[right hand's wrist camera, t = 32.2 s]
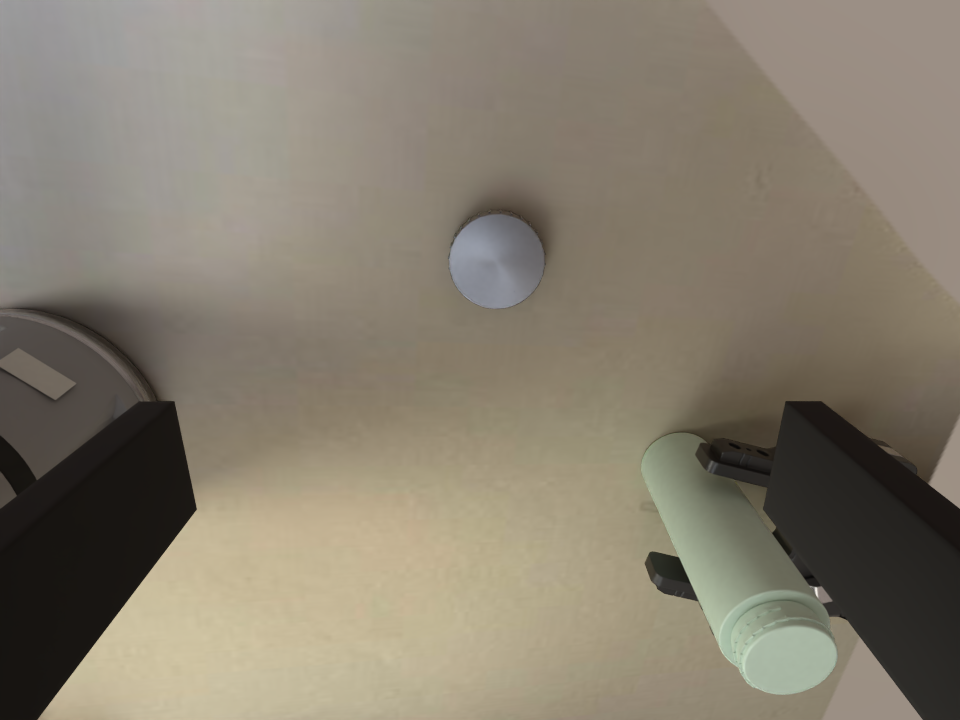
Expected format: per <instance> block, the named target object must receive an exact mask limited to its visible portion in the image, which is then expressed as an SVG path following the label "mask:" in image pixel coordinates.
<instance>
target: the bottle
mask: <svg viewBox="0 0 960 720" xmlns="http://www.w3.org/2000/svg"><path fill="white" fill-rule="evenodd" d="M700 443H707V442H706V441H705V440H703V439H702V438H700V437H699V436H696V435H694V434H690V433H681V432H680V433H672V434H668V435H665V436H663V437H661V438H659V439H658V440H656V441H655V442H654V443H652V444H651V445H650V447H649V448H648V449H647V450H646V452H645V454H644V456H643V459H642V463H641V472H642V476H643V478H644V481H645V483H646V485H647V487H648V490H649V492H650V494H651V496H652V498H653V501H654V503H655V505H656V507H657V509H658V512H659V514H660V516H661V518H662V521H663V523H664V525H665V527H666V529H667V532H668V534H669V536H670V538H671V540H672V543H673V545H674V547H675V549H676V552H677V554H678V556H679V558H680V560H681V563H682V565H683V567H684V569H685V571H686V574H687V576H688V578H689V580H690V583H691V585H692V587H693V589H694V591H695V594H696V596H697V598H698V600H699V602H700V605H701V607H702V609H703V611H704V614H705V616H706V618H707V620H708V622H709V625H710V627H711V629H712V631H713V633H714V636H715V638H716V640H717V642H718V645H719V647H720V649H721V651H722V653H723V654H724V656H725V657H726V658H727V659H728V660H729V661H730V662H731V663H732V664H734V665H735V666H737V667H739V671H740V673H741V675H742V676H743V678H744V679H745V681H746V682H747V683H748V684H749V685H751V686H752V687H753V688H758V689H760V690H762V691H764V692H767V693H771V694H778V695H787V694H795V693H799V692H803V691H806V690H808V689H811V688H813V687H815V686H816V685H818V684H819V683H821V682H822V681H823V680H825V679H826V678H827V677H828V676H829V675H830V673H831V672H832V670H833V669H834V667H835V665H836V662H837V657H838V653H837V647H836V644H835V641H834V636H833V634H832V633H831V631H830V619H829V615H828V613H827V610H826V609H825V607H824V606H823V604H822V603H821V601H820V600H819V599H818V597H817V596H816V594H815V593H814V592H813V590H812V589H811V587H810V586H809V585H808V583H807V582H806V580H805V579H804V578H803V576H802V575H801V573H800V572H799V571H798V569H797V568H796V566H795V565H794V564H793V562H792V561H791V559H790V558H789V557H788V555H787V554H786V552H785V551H784V550H783V548H782V547H781V545H780V544H779V543H778V541H777V540H776V538H775V537H774V536H773V534H772V533H771V531H770V530H769V529H768V527H767V526H766V524H765V523H764V522H763V520H762V519H761V517H760V516H759V514H758V513H757V512H756V510H755V509H754V507H753V506H752V505H751V503H750V502H749V500H748V499H747V498H746V496H745V495H744V493H743V492H742V491H741V489H740V488H739V486H738V485H737V484H736V482H735V481H734V479H730V478H726V477H722V476H718V475H714V474H712V473H709V472H708V471H706V470H705V469H704V468H703V467H702V465H701V464H700V462H699V460H698V459H697V457H696V456H695V453H696V451H697V449H698V447H699V444H700Z"/></svg>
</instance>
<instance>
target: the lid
mask: <svg viewBox="0 0 960 720" xmlns="http://www.w3.org/2000/svg"><path fill="white" fill-rule="evenodd" d="M454 238H455V239H454V241H453V243H451V245H450V248H451V250H450V253H449V256H448V259H449V269H450V273H451V277H452V280H453V282H454V283H455V285H456V287H457V289H458V290H459V291H460V292H461V293H462V295H463V296H464V297H466V298H467V299H468V300H469V301H471V302H473V303H474V304H477V305H479V306H482V307H485V308H490V309H503V308H508V307H512V306H514V305H517V304H519V303H521V302H522V301H524V300H525V299H527V298H528V297H529V296H530V295H531V294H532V293H533V292H534V291H535V289H536V288H537V286H538V285H539V283H540V281H541V278H542V276H543V272H544V266H545V252H544V249H543V247H542V244H543V242H542V240H541V239H539V237H538V232H537V230H534V229H533V227H532V226H531V223H530V222H527V221H526V220H524V219H523V218H522V216H521V215H520V216H518V215H516V214H514V213H512V211H510V212H507V211H501V209H499V210H494V211H491V210H490V209H489V211H487V212H483V213H480V212H479V213H478V215H476V216H474V217H472V218H469V219H468V221H467V222H466V223H465V224H464V225H461V227H460V230H459V231H458V233H455V235H454Z"/></svg>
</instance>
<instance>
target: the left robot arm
mask: <svg viewBox="0 0 960 720" xmlns="http://www.w3.org/2000/svg"><path fill="white" fill-rule="evenodd" d="M869 439H870V438H869ZM870 440H872V441H873V442H874V443H876V444H877V445H878V446H879V447H881V448H882V449H883V450H885V451H886V452H887V453H888V454H890V455H891V456H892V457H894V458H895V459H896V460H897V461H899V462H900V463H901V464H903V465H904V466H905V467H907V468H908V469H909V470H910V471H912V472H913V473H914V474H917V468H916V467H915V466H914V465H913V464H912V463H911V462H909V461H908V460H907V459H905V458H904V457H903V456H902V455H900V454H899V453H898V452H896V451H895V450H894V449H892V448H891V447H890V446H889V445H887V444H886V443H885V442H883V441H879V440H875V439H870ZM775 450H776V447H772V448H768V449H765V448H761V447H757V446H753V445H749V444H745V443H740V442H737V441H733V440H729V439H725V438H721V439H714V440H713V442H712V444H708V443H700V444H699V447H698V449H697V451H696V453H695V456H696V457H697V459H698V460H699V462H700V464H701V465H702V467H703V468H704V469H705V470H706V471H708V472H709V473H712V474H714V475H718V476H722V477H726V478H730V479H735V480H739V481H743V482H747V483H751V484H755V485H759V486H763V487H767V488H768V484H769V479H770V474H771V470H772V465H773V460H774V455H775ZM772 534H773V536H774V537H775V538H776V540H777V541H778V543H779V544H780V545H781V547H782V548H783V550H784V551H785V552H786V554H787V555H788V557H789V558H790V559H791V561H792V562H793V564H794V565H795V566H796V568H797V569H798V571H799V572H800V573H801V575H802V576H803V578H804V579H805V580H806V582H807V583H808V585H809V586H810V587H811V589H812V590H813V592H814V593H815V594H816V596H817V597H818V599H819V600H820V601H821V603H822V604H823V606H824V607H825V609H826V610H827V613H828V615H829V617H841V618H843V619H846V618H845V616H844V615H843V614H842V613H841V611H840V610H839V609H838V607H837V606H836V605H835V603H834V602H833V601H832V599H831V598H830V597H829V595H828V594H827V593H826V591H825V590H824V589H823V587H822V586H821V585H820V584H819V582H818V581H817V580H816V578H815V577H814V576H813V574H812V573H811V572H810V570H809V569H808V568H807V566H806V565H805V564H804V562H803V561H802V560H801V559H800V557H799V556H798V555H797V553H796V552H795V551H794V549H793V548H792V547H791V545H790V544H789V543H788V541H787V540H786V539H785V537H784V536H783V535H782V533H781V532H780V531H779V530H778V528H777V527H776V529H775V531H774V532H773V533H772ZM645 566H646V568H647V571H648V574H649V577H650V579H651V581H652V582H653V583H654V584H655V585H656V586H657V589H658V590H660V591H661V592H663V593H664V594H669V595H674V596H677V597H682V598H686V599H691V600H695V601H698V602H699V600H698V598H697V596H696V594H695V591H694V589H693V587H692V585H691V583H690V580H689V578H688V576H687V574H686V571H685V569H684V567H683V565H682V563H681V560H680V558H679V557H675V556H670V555H666V554H662V553H657V552H650V553H649V555H648V557H647V559H646V561H645ZM699 604H700V602H699ZM700 607H701V605H700ZM701 609H702V607H701ZM702 610H703V609H702ZM703 612H704V611H703ZM706 619H707V618H706ZM846 620H847V619H846ZM707 621H708V620H707ZM708 623H709V622H708ZM710 629H711V627H710ZM711 631H712V629H711ZM712 633H713V631H712ZM713 635H714V633H713Z"/></svg>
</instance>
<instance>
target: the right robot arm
mask: <svg viewBox="0 0 960 720" xmlns="http://www.w3.org/2000/svg"><path fill="white" fill-rule="evenodd" d="M196 510H197V508H196V503H195V498H194V494H193V489H192V484H191V479H190V474H189V470H188V465H187V460H186V455H185V450H184V445H183V441H182V436H181V431H180V426H179V421H178V417H177V412H176V407H175V402H174V401H157V399H156V397H155V395H154V394H153V392H152V390H151V388H150V386H149V385H148V383H147V382H146V380H145V378H144V377H143V376H142V374H141V373H140V372H139V370H138V369H137V368H136V367H135V366H134V365H133V363H132V362H131V361H130V360H129V359H128V358H127V357H126V356H125V355H124V354H123V353H122V352H121V351H120V350H118V349H117V348H116V347H115V346H113V345H112V344H111V343H110V342H108V341H107V340H106V339H104V338H103V337H101V336H100V335H98V334H97V333H95V332H93V331H92V330H90V329H88V328H86V327H84V326H82V325H80V324H78V323H76V322H74V321H71V320H69V319H66V318H64V317H61V316H57V315H54V314H51V313H47V312H42V311H37V310H29V309H0V720H37V719H38V718H39V717H40V715H41V714H42V713H43V711H44V710H45V709H46V707H47V706H48V705H49V703H50V702H51V701H52V699H53V698H54V697H55V695H56V694H57V693H58V692H59V690H60V689H61V688H62V686H63V685H64V684H65V682H66V681H67V680H68V678H69V677H70V676H71V674H72V673H73V672H74V670H75V669H76V668H77V666H78V665H79V664H80V663H81V661H82V660H83V659H84V657H85V656H86V655H87V653H88V652H89V651H90V649H91V648H92V647H93V645H94V644H95V643H96V641H97V640H98V639H99V638H100V636H101V635H102V634H103V632H104V631H105V630H106V628H107V627H108V626H109V624H110V623H111V622H112V620H113V619H114V618H115V616H116V615H117V614H118V612H119V611H120V610H121V609H122V607H123V606H124V605H125V603H126V602H127V601H128V599H129V598H130V597H131V595H132V594H133V593H134V591H135V590H136V589H137V587H138V586H139V585H140V584H141V582H142V581H143V580H144V578H145V577H146V576H147V574H148V573H149V572H150V570H151V569H152V568H153V566H154V565H155V564H156V562H157V561H158V560H159V559H160V557H161V556H162V555H163V553H164V552H165V551H166V549H167V548H168V547H169V545H170V544H171V543H172V541H173V540H174V539H175V537H176V536H177V535H178V533H179V532H180V531H181V530H182V528H183V527H184V526H185V524H186V523H187V522H188V520H189V519H190V518H191V516H192V515H193V514H194V512H195V511H196ZM763 510H764V511H765V512H766V514H767V515H768V516H769V518H770V519H771V520H772V522H773V523H774V524H775V526H776V527H777V528H778V530H779V531H780V532H781V533H782V535H783V536H784V537H785V539H786V540H787V541H788V543H789V544H790V545H791V547H792V548H793V549H794V551H795V552H796V553H797V555H798V556H799V557H800V559H801V560H802V561H803V562H804V564H805V565H806V566H807V568H808V569H809V570H810V572H811V573H812V574H813V576H814V577H815V578H816V580H817V581H818V582H819V584H820V585H821V586H822V587H823V589H824V590H825V591H826V593H827V594H828V595H829V597H830V598H831V599H832V601H833V602H834V603H835V605H836V606H837V607H838V609H839V610H840V611H841V613H842V614H843V615H844V616H845V618H846V619H847V620H848V622H849V623H850V624H851V626H852V627H853V628H854V630H855V631H856V632H857V634H858V635H859V636H860V638H861V639H862V640H863V641H864V643H865V644H866V645H867V647H868V648H869V649H870V651H871V652H872V653H873V655H874V656H875V657H876V659H877V660H878V661H879V663H880V664H881V665H882V666H883V668H884V669H885V670H886V672H887V673H888V674H889V676H890V677H891V678H892V680H893V681H894V682H895V684H896V685H897V686H898V688H899V689H900V690H901V691H902V693H903V694H904V695H905V697H906V698H907V699H908V701H909V702H910V703H911V705H912V706H913V707H914V709H915V710H916V711H917V713H918V714H919V715H920V717H921V718H922V719H923V720H960V509H959V508H958V507H957V506H955V505H954V504H953V503H952V502H950V501H949V500H948V499H946V498H945V497H944V496H943V495H941V494H940V493H939V492H937V491H936V490H935V489H934V488H932V487H931V486H930V485H928V484H927V483H926V482H925V481H923V480H922V479H921V478H919V477H918V476H917V475H916V474H914V473H913V472H912V471H910V470H909V469H908V468H907V467H905V466H904V465H903V464H901V463H900V462H899V461H897V460H896V459H895V458H894V457H892V456H891V455H890V454H888V453H887V452H886V451H885V450H883V449H882V448H881V447H879V446H878V445H877V444H876V443H874V442H873V441H872V440H870V439H869V438H868V437H867V436H865V435H864V434H863V433H861V432H860V431H859V430H858V429H856V428H855V427H854V426H852V425H851V424H850V423H849V422H847V421H846V420H845V419H843V418H842V417H841V416H840V415H838V414H837V413H836V412H834V411H833V410H832V409H831V408H829V407H828V406H827V405H825V404H824V403H823V402H821V401H786V402H785V407H784V412H783V417H782V421H781V426H780V431H779V436H778V441H777V445H776V450H775V455H774V460H773V465H772V470H771V474H770V479H769V484H768V489H767V494H766V498H765V503H764V508H763Z"/></svg>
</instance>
